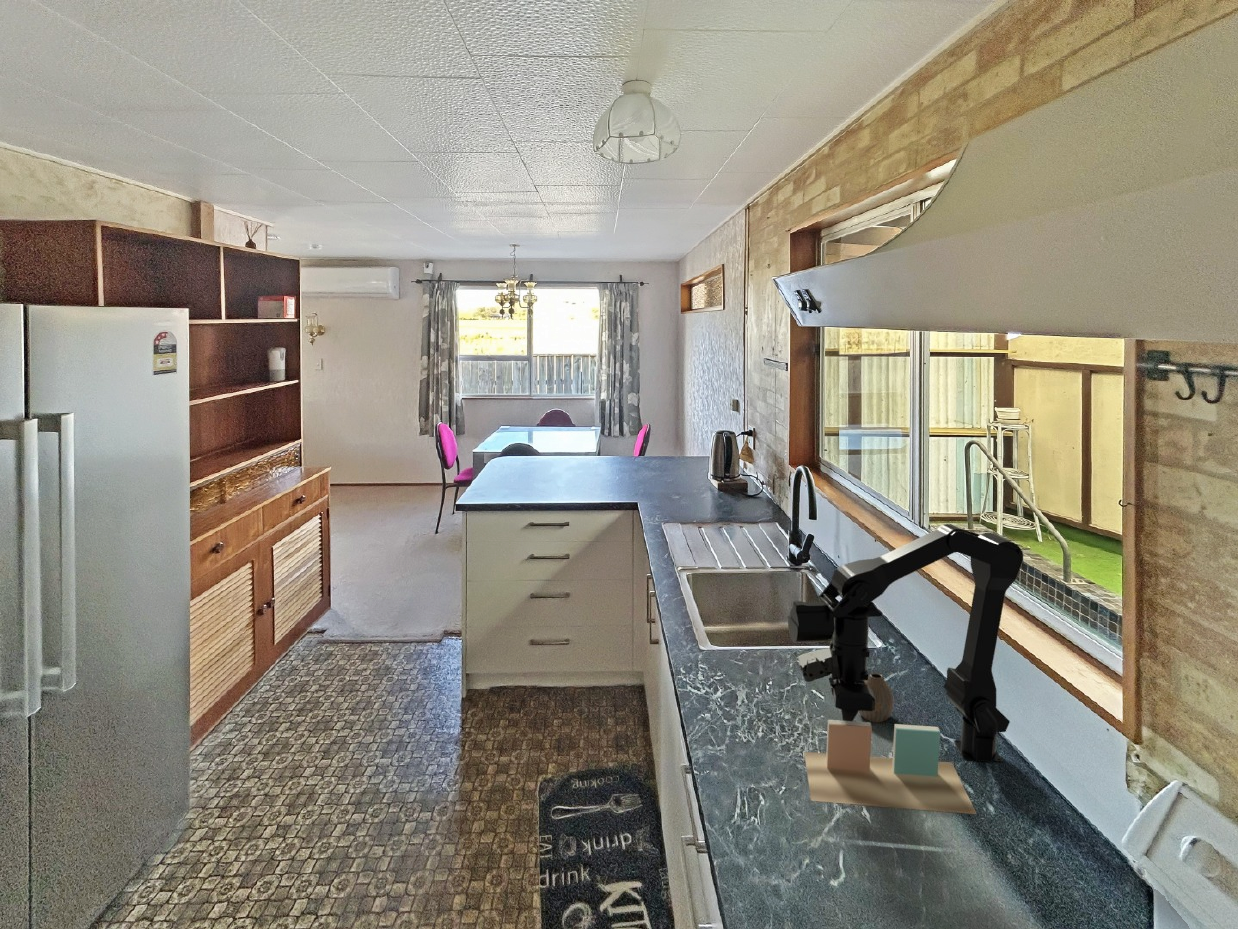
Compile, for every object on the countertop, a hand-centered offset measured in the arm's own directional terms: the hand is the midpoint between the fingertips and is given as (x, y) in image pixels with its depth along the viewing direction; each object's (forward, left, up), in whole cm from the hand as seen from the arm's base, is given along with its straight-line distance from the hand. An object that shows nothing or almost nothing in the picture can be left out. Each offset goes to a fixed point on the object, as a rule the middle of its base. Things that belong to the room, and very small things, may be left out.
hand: (846, 724), depth 138 cm
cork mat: (+7, +6, -6) cm, 11 cm away
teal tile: (+3, +11, -6) cm, 13 cm away
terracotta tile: (+3, 0, -6) cm, 7 cm away
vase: (-16, +8, -7) cm, 19 cm away
